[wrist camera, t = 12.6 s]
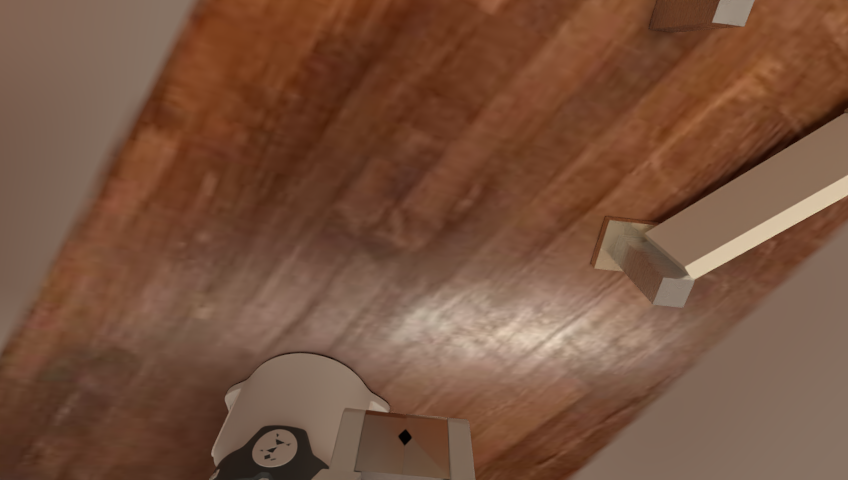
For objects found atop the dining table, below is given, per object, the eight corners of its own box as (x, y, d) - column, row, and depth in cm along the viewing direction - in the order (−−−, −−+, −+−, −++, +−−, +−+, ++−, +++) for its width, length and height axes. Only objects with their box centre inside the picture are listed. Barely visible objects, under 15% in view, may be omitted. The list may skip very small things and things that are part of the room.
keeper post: (673, 32, 32) (744, 26, 25) (648, 29, 32) (712, 22, 25) (687, -13, 31) (766, -32, 24) (661, -16, 31) (732, -37, 24)
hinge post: (640, 268, 41) (693, 323, 33) (590, 263, 41) (630, 316, 33) (657, 222, 39) (718, 267, 31) (605, 216, 39) (652, 260, 30)
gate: (653, 247, 38) (693, 282, 32) (643, 231, 38) (683, 264, 32) (877, 115, 33) (974, 128, 27) (870, 94, 33) (968, 103, 27)
